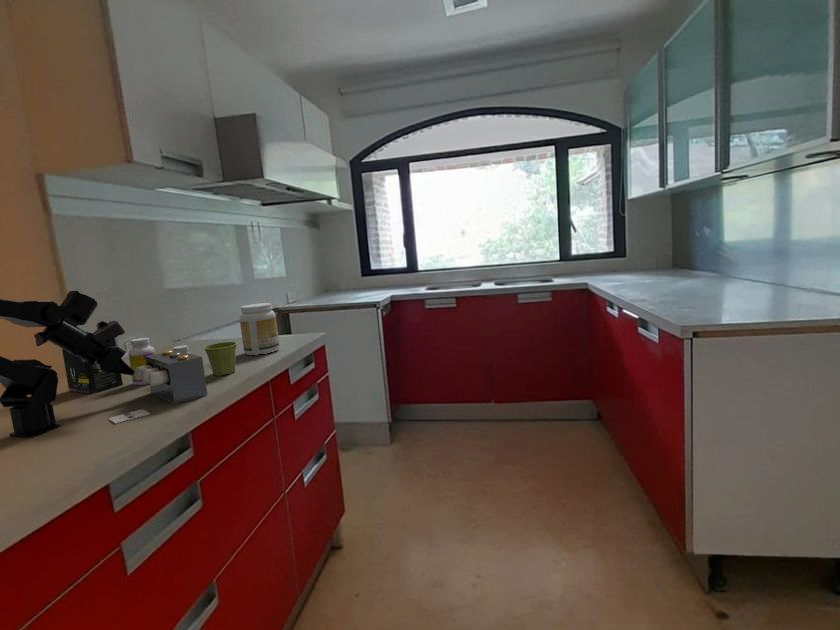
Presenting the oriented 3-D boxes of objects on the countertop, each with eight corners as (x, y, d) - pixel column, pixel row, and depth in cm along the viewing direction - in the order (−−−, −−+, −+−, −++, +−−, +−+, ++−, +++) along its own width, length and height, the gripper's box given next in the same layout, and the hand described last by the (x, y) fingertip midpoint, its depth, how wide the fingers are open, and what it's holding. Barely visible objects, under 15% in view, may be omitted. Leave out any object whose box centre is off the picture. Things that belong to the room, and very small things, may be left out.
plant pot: (230, 377, 141) (226, 348, 139) (200, 378, 142) (196, 349, 141) (246, 368, 150) (243, 341, 148) (219, 369, 151) (215, 342, 150)
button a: (154, 387, 116) (152, 374, 116) (149, 385, 118) (147, 372, 118) (169, 383, 119) (167, 370, 118) (165, 381, 121) (163, 369, 120)
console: (174, 404, 118) (168, 361, 117) (151, 392, 130) (144, 354, 129) (207, 395, 124) (201, 354, 123) (182, 384, 136) (176, 347, 134)
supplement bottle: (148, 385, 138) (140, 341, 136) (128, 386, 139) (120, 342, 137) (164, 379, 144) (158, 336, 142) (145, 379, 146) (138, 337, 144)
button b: (146, 384, 120) (144, 371, 120) (142, 382, 122) (140, 369, 122) (161, 380, 123) (159, 368, 122) (157, 378, 125) (155, 366, 124)
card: (115, 424, 107) (114, 422, 107) (109, 419, 110) (108, 417, 110) (149, 414, 112) (149, 412, 112) (142, 410, 115) (142, 408, 115)
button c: (139, 380, 124) (137, 368, 123) (135, 379, 126) (133, 367, 126) (154, 377, 126) (152, 365, 126) (150, 375, 128) (148, 363, 128)
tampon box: (68, 391, 138) (58, 341, 136) (101, 382, 146) (93, 334, 144) (90, 394, 133) (80, 342, 131) (123, 385, 141) (115, 335, 139)
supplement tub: (283, 347, 179) (277, 301, 177) (275, 354, 167) (269, 305, 165) (249, 350, 179) (243, 304, 176) (239, 357, 167) (233, 308, 164)
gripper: (108, 314, 112) (166, 350, 121) (87, 310, 124) (141, 343, 134) (73, 355, 107) (137, 389, 117) (55, 347, 120) (114, 378, 130)
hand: (133, 373), depth 124 cm, fingers closed
